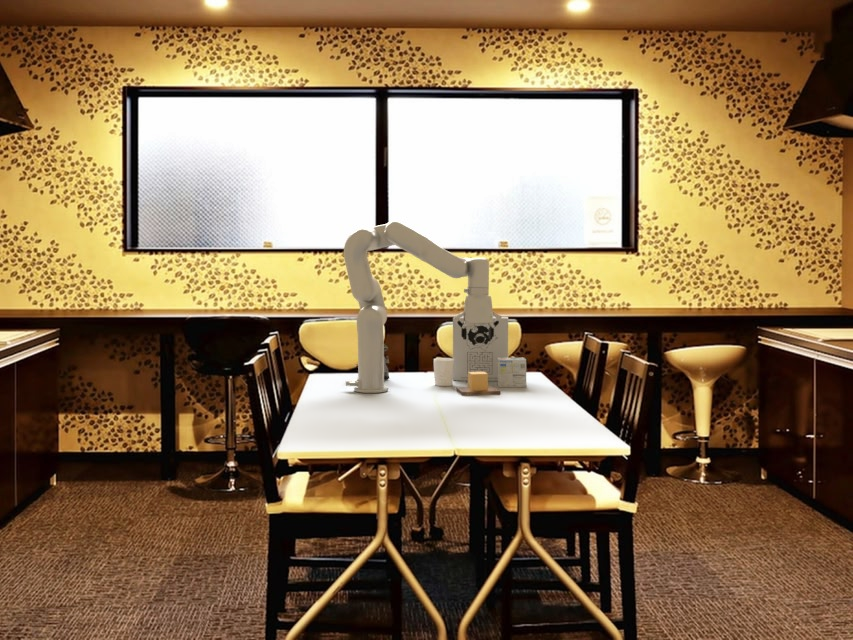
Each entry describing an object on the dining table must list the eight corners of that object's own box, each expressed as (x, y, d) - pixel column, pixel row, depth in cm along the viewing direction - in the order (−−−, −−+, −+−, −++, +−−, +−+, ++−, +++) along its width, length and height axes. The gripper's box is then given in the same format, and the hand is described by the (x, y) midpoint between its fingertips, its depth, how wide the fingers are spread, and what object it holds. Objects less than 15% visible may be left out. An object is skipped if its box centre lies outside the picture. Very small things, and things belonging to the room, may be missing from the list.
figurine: (373, 377, 375) (373, 340, 374) (391, 380, 367) (391, 342, 365) (355, 379, 369) (355, 342, 368) (373, 382, 361) (373, 344, 359)
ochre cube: (471, 390, 333) (471, 374, 333) (468, 388, 339) (468, 371, 339) (487, 390, 334) (487, 373, 334) (483, 387, 340) (484, 371, 340)
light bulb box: (524, 384, 355) (524, 356, 354) (526, 387, 349) (527, 359, 348) (496, 384, 355) (496, 357, 354) (498, 387, 348) (498, 359, 347)
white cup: (431, 386, 352) (431, 360, 351) (436, 383, 359) (436, 357, 358) (451, 386, 350) (451, 360, 349) (456, 383, 357) (456, 358, 356)
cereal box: (507, 378, 371) (508, 316, 369) (507, 381, 363) (507, 318, 361) (454, 377, 373) (454, 316, 371) (452, 380, 365) (452, 317, 363)
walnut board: (462, 395, 330) (462, 392, 330) (456, 390, 341) (456, 387, 341) (500, 394, 333) (500, 390, 332) (493, 389, 343) (493, 386, 343)
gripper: (456, 292, 329) (456, 340, 330) (504, 292, 331) (503, 340, 333) (452, 291, 336) (452, 338, 337) (498, 291, 339) (498, 337, 340)
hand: (477, 339), depth 335 cm, fingers open, 9 cm apart
